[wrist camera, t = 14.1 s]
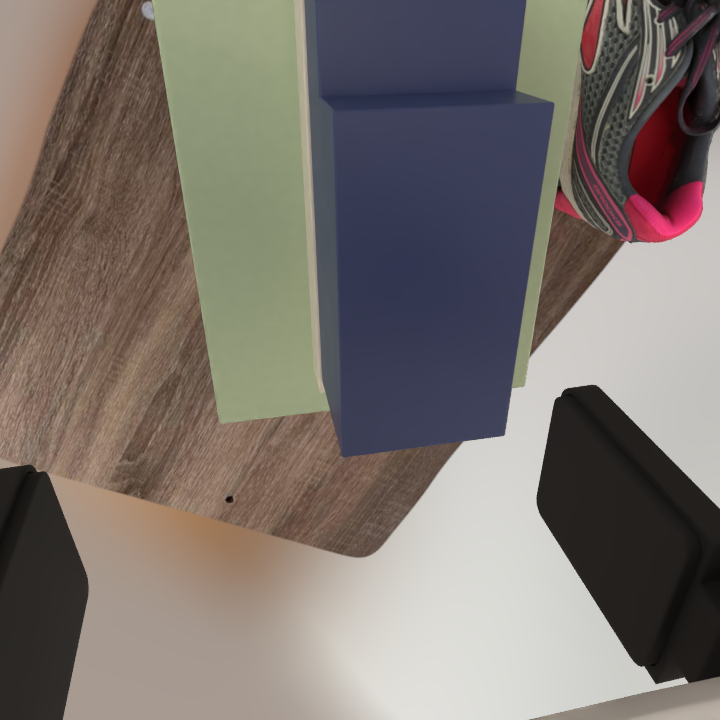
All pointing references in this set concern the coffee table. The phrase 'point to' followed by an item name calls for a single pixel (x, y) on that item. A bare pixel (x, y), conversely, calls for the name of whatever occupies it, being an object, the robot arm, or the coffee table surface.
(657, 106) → the running shoe
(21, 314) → the coffee table surface
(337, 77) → the navy stepped block
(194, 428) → the coffee table surface
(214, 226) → the pale green boxy piece
